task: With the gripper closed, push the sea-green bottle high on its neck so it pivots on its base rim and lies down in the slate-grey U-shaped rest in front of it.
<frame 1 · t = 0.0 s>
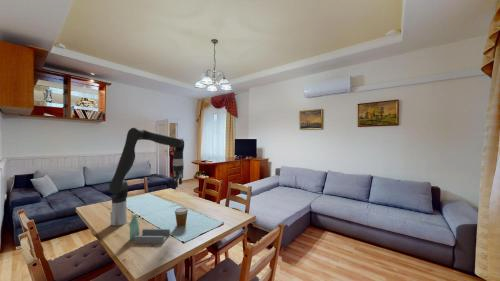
hand: (178, 185, 149), 29 cm above the table, fingers open, 8 cm apart
bottle: (134, 238, 129), on the table
disposable coffee cup: (181, 225, 148), on the table
u rest: (152, 238, 129), on the table
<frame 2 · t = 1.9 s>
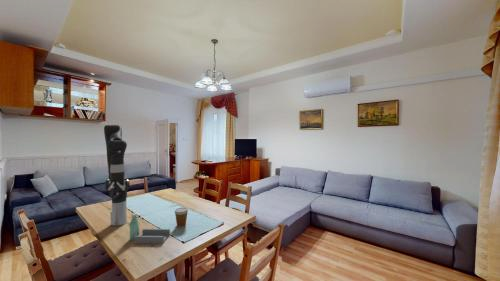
hand: (117, 195, 128), 28 cm above the table, fingers open, 8 cm apart
nothing on the table moved.
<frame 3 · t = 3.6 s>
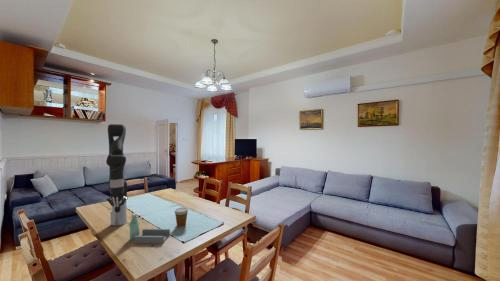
hand: (117, 212, 128), 17 cm above the table, fingers closed
nothing on the table moved.
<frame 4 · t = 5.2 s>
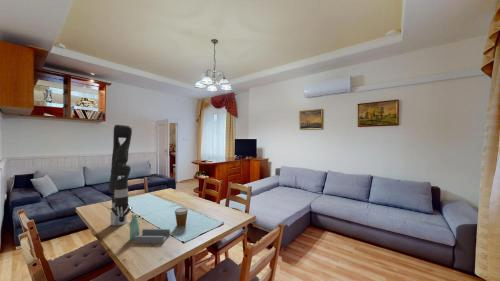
hand: (121, 221, 128), 11 cm above the table, fingers closed
nothing on the table moved.
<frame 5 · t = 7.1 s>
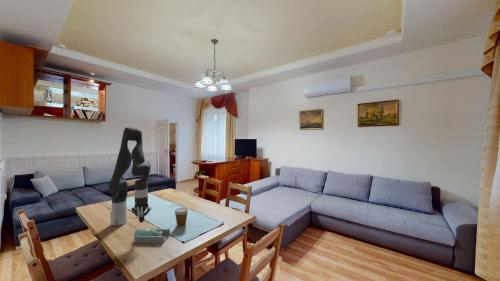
hand: (141, 221, 128), 11 cm above the table, fingers closed
bottle: (136, 233, 129), point 3 cm above the table, tilted 90°, touching u rest
everything else where it was.
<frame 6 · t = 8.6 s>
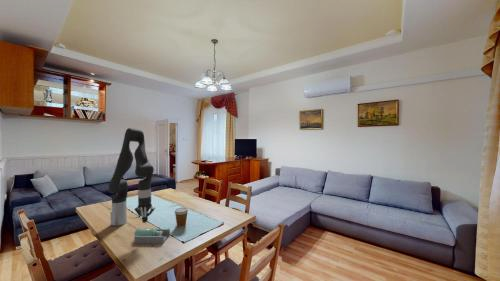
hand: (145, 222, 128), 11 cm above the table, fingers closed
nothing on the table moved.
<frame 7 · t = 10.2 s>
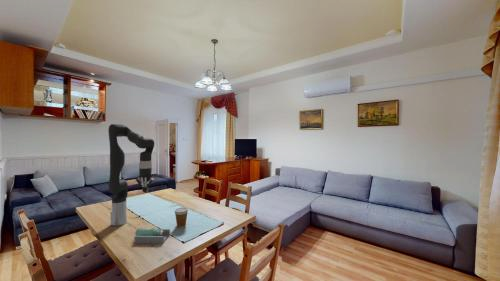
hand: (145, 192, 136), 28 cm above the table, fingers closed
bottle: (137, 232, 130), point 3 cm above the table, tilted 90°, touching u rest
everything else where it was.
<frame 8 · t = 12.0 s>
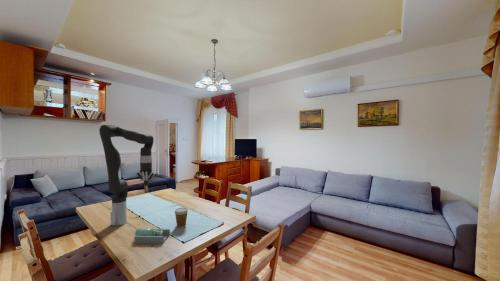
hand: (146, 185, 143), 31 cm above the table, fingers closed
nothing on the table moved.
at the end: bottle tilted 90°; bottle touching u rest; bottle inside the target area on the u rest (3.7 cm from its centre), point 3.4 cm above the u rest's base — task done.
